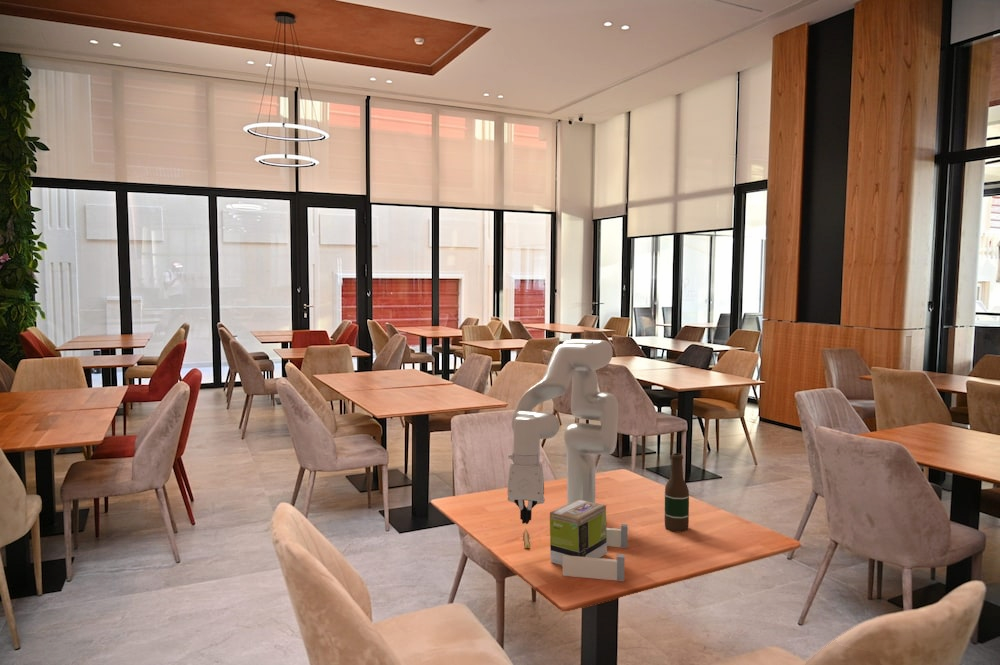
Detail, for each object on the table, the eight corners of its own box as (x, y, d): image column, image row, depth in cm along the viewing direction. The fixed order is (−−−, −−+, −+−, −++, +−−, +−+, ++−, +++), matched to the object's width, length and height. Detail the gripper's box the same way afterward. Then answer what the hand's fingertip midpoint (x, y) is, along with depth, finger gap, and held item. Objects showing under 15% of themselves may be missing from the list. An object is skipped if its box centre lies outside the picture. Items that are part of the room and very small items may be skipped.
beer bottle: (668, 522, 220) (668, 450, 218) (691, 526, 216) (692, 453, 214) (660, 529, 213) (661, 455, 212) (685, 534, 209) (686, 458, 208)
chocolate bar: (522, 550, 198) (522, 542, 198) (521, 535, 210) (521, 528, 210) (531, 550, 198) (531, 542, 198) (529, 535, 210) (529, 528, 210)
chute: (573, 541, 203) (573, 520, 203) (627, 545, 200) (627, 524, 199) (562, 575, 179) (562, 552, 178) (624, 581, 175) (624, 557, 175)
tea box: (578, 546, 199) (578, 497, 198) (607, 554, 193) (607, 504, 192) (549, 562, 188) (549, 510, 187) (579, 571, 181) (579, 518, 180)
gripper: (498, 460, 190) (497, 524, 191) (550, 463, 187) (549, 528, 187) (503, 454, 197) (503, 516, 198) (554, 457, 194) (553, 520, 195)
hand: (525, 522), depth 193 cm, fingers closed
